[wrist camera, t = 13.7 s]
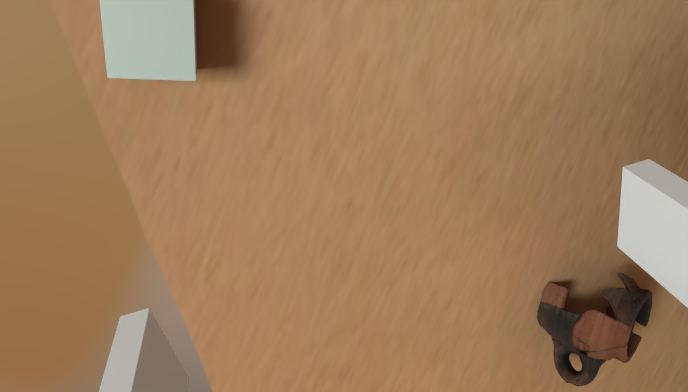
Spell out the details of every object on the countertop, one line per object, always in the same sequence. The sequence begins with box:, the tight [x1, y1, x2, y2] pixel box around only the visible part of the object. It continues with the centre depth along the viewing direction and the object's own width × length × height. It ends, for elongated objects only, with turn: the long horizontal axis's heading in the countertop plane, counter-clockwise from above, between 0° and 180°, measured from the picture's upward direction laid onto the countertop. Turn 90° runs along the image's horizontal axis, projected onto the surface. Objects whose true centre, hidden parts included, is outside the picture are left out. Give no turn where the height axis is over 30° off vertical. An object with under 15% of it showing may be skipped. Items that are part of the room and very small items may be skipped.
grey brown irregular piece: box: [537, 273, 652, 386], centre depth 51 cm, size 12×10×8 cm
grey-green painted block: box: [100, 0, 197, 81], centre depth 31 cm, size 5×5×4 cm
